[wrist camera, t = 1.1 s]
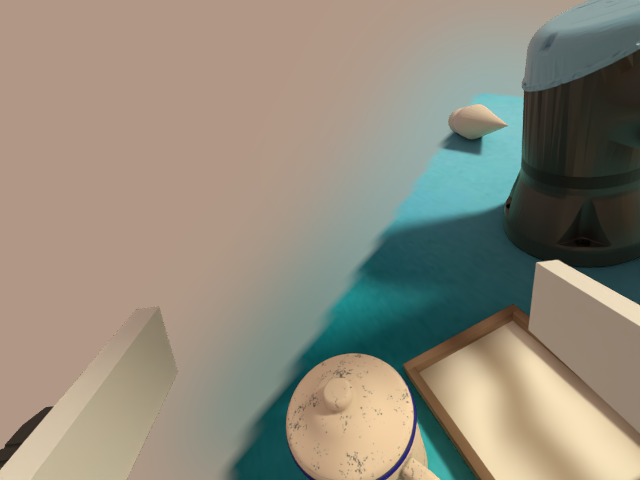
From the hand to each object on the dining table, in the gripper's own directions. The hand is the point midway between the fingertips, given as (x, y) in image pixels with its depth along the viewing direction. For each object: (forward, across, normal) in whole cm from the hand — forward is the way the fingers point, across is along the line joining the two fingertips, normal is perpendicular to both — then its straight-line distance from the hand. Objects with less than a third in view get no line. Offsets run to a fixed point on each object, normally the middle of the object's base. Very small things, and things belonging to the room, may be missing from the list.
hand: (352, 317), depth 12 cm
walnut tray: (+10, +14, -18) cm, 25 cm away
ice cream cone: (+55, +32, 0) cm, 64 cm away
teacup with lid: (+9, +3, -21) cm, 23 cm away
